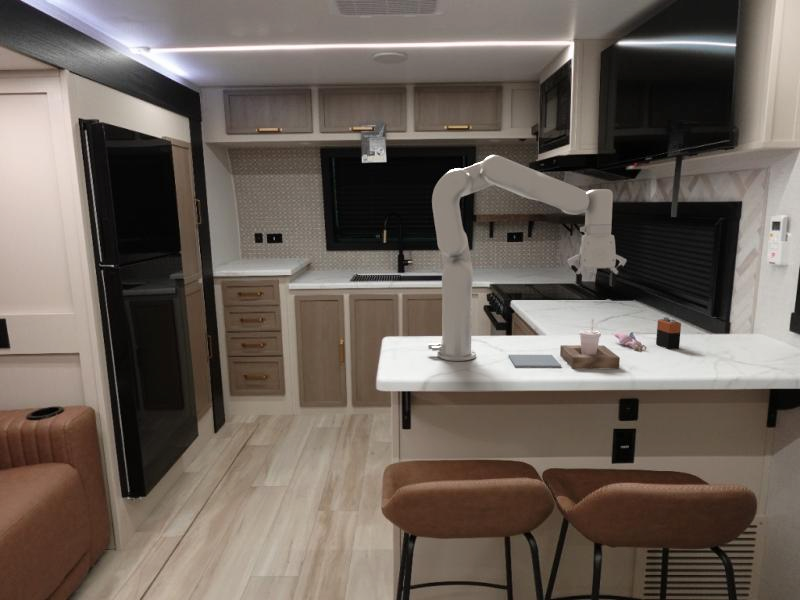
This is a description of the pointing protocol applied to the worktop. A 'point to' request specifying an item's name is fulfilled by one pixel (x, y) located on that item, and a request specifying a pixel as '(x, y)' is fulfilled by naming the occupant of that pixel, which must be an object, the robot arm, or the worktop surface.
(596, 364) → the walnut frame
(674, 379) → the worktop surface
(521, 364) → the slate mat
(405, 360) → the worktop surface
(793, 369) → the worktop surface
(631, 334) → the rabbit figure
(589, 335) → the smoothie
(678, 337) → the battery
